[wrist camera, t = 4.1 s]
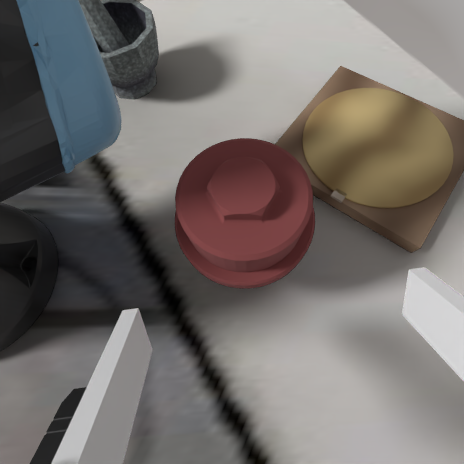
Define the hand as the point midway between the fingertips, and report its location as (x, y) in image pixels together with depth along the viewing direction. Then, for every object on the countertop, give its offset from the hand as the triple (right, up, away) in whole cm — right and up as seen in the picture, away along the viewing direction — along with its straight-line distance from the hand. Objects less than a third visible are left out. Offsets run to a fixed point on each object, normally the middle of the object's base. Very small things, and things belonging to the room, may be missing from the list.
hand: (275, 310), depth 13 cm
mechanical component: (-1, +2, +14) cm, 14 cm away
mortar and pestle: (-16, +24, +23) cm, 37 cm away
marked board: (+13, +13, +17) cm, 25 cm away
